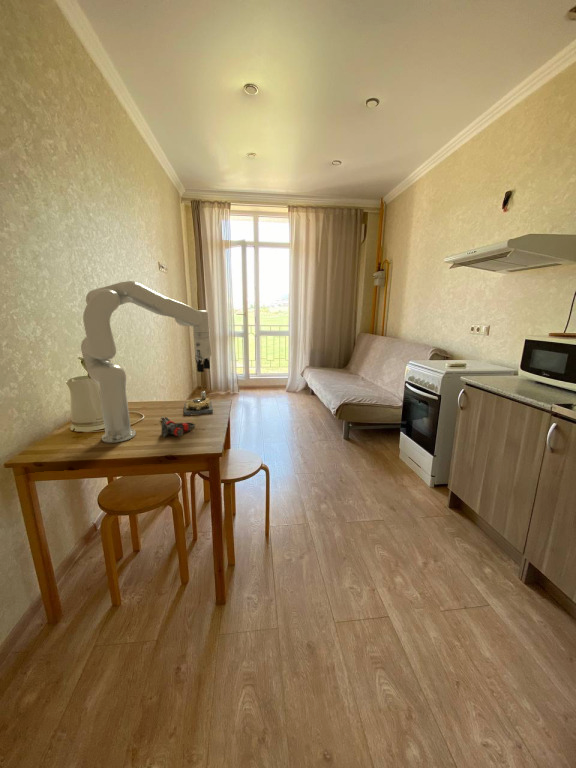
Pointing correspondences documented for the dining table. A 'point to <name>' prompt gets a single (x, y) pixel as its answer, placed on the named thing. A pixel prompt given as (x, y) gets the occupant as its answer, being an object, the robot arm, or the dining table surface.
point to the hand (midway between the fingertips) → (203, 369)
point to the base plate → (200, 411)
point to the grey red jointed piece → (175, 427)
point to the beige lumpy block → (198, 402)
